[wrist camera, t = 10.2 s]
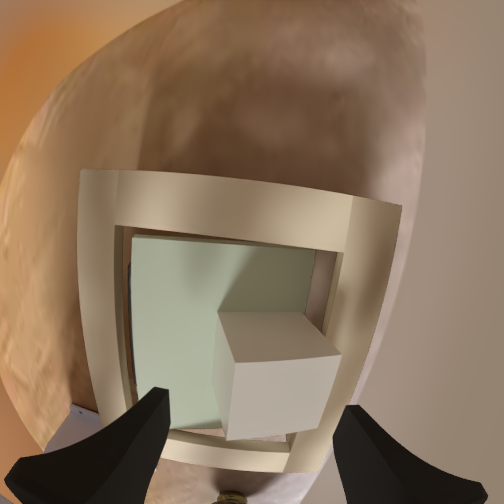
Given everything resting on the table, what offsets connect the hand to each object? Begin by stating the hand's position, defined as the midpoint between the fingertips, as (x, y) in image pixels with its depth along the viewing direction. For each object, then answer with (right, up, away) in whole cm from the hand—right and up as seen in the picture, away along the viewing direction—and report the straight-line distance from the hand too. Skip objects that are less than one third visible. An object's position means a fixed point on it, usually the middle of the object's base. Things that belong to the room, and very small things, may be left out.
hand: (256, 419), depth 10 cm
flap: (-3, +2, +7) cm, 8 cm away
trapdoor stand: (-2, +2, +10) cm, 11 cm away
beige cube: (0, +1, +5) cm, 5 cm away
